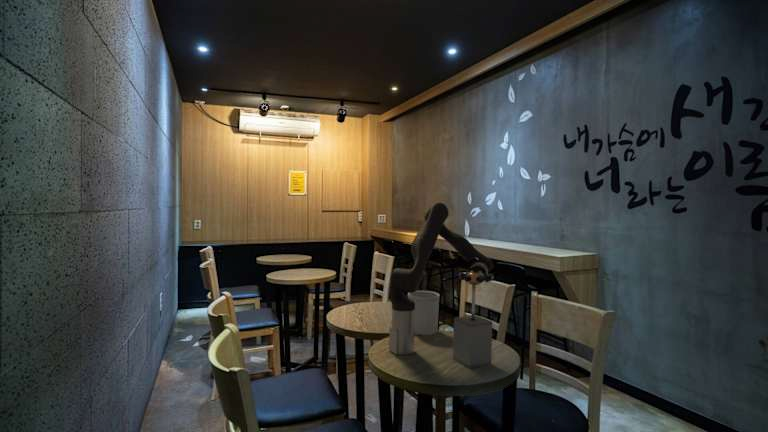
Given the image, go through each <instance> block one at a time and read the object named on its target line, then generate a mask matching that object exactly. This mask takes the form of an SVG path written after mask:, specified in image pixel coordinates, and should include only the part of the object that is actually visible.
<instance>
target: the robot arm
mask: <svg viewBox="0 0 768 432" xmlns="http://www.w3.org/2000/svg"><path fill="white" fill-rule="evenodd" d="M449 213H450V212H449V208H448V207H447V205H446V204H444V203H442V202H435V203H433V204H432V205H431V206H430V207H429V208H428V209H427V211H426V213H425V215H424V221H425V222H424V224H422V226H421V228H420V229H419V231H418V232H417V233H416V235H415V237H414V239H413V241H412V242H411V245H410V251H411V252H410V253H411V255H412V257H413V260H414V265H413V267H412V268H400V267H397V268H394V269H393V270H392V273H391V276H390V302H391V326H389V330H388V331H389V334H388V335H389V337H388V338H389V339H388V343H389V344H388V350H389V351H390V352H391V353H393V354H394V355H396V356H397V355H398V356H399V355H402V356H407V355H412V354H413V353H415V334H414V328H415V302H414V301H413V300H411V299H409V298H408V296H407V295H406V293H413V292H415V291H418V290H419V286H420V285H421V282H422V279H423V275H424V272H425V268H426V266H427V263H428V260H429V259H430V256H431V255H432V253H433V250H434V248H435V246H436V242H437V240H438V238H439V236H440V237H441V238H442V239H443V240H445V242H447V243H449V245H450V246H451V247H453V248H454V250H455V251H456V252H457V253H458V254H459V255H460V256H461V257H462V259H463V260H464V261H466V262H469V261H470V260H473V259H474V258H477V260H476V261H475V262H474V263H473V264H471V266H470V267H469V268H468V270H467V271H466V272H463V271H461V270H460V271H459V272H458V278H459V279H460V281H465V282H466V283H469V273H471V272H474V273H480V276H479V285H480V284H482V283H484V282H485V283H489V282H493V281H494V278H495V277H494V273H490V272H491V271H492V270H493V269H494V267H495V264H494V262H493V261H492V259H490V258H489V257H488V256H486V255H485V254H483V253H482V252H480V251H479V250H477V249H476V247H475V246H474V245H473V244H472V243H471V242H470V240H468V239H467V238H466V237H465V236H463V235H461V234H458V233H456V232H454V231H452V230H450V229H449V228H448V227H447V226H446V225H445V222H446V220H447V219H448V217H449Z"/></svg>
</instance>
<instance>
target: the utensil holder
mask: <svg viewBox="0 0 768 432" xmlns="http://www.w3.org/2000/svg"><path fill="white" fill-rule="evenodd" d="M407 297H408V298H409V299H411V300H413V301H414V302H415V328H414V333H416V334H415V335H417V334H422V335H421V336H431V335H432V336H433V335H436V333H438V330H439V329H438V328H439V308H440V307H439V305H440V304H439V303H440V298H441V297H440V294H439V293H438V292H436V291H430V290H416V291H415V292H413V293H409V292H407Z"/></svg>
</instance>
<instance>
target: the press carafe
mask: <svg viewBox="0 0 768 432" xmlns="http://www.w3.org/2000/svg"><path fill="white" fill-rule="evenodd" d="M471 316H472V314H471V315H463V316H457V317H454V318H453V322H454V324H453V351H452V352H453V353H452V354H453V360H455V361H456V362H458V363H460V364H461V365H463V366H465V367H467V368H468V369H471V368H472V369H473V368H478V367H482V366H488V365H492V350H493V347H492V346H493V343H492V341H493V340H492V339H493V321H492V320H489V319H487V318H484V317H481V316H479V315H476V314H475V320H474V321H472V320H471Z"/></svg>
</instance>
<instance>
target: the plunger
mask: <svg viewBox="0 0 768 432" xmlns="http://www.w3.org/2000/svg"><path fill="white" fill-rule="evenodd" d="M479 276H480V273H474V272H471V273H469V281H468V284H469V285H471V315H472V316H471V315H470V316H471V320H472V321H474V320H475V315H476V313H475V312H476V286H479V285H480V284H479Z"/></svg>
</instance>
